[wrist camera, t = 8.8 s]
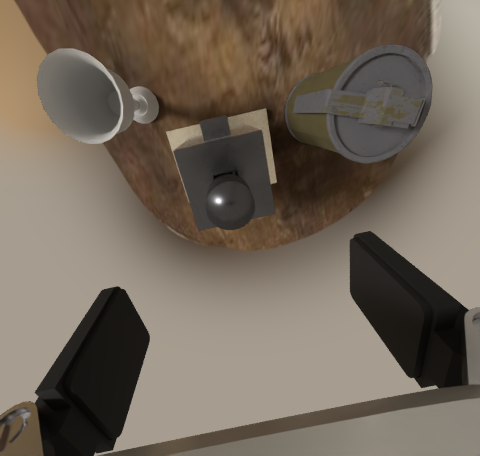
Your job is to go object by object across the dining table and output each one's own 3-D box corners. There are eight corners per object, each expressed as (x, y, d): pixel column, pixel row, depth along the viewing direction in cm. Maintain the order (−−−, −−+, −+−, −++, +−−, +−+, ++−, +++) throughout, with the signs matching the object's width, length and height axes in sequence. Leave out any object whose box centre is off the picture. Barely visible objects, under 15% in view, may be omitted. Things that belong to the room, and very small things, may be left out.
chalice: (171, 125, 39) (136, 135, 22) (130, 135, 39) (65, 151, 22) (154, 72, 35) (100, 38, 19) (110, 83, 36) (18, 58, 19)
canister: (356, 78, 38) (481, 47, 20) (336, 148, 42) (424, 174, 24) (289, 67, 36) (357, 22, 18) (276, 140, 41) (321, 161, 23)
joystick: (264, 105, 38) (295, 99, 23) (275, 180, 44) (306, 218, 28) (166, 128, 39) (130, 138, 23) (189, 200, 44) (173, 248, 28)
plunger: (238, 137, 38) (259, 163, 18) (246, 173, 40) (271, 231, 21) (202, 145, 38) (184, 181, 18) (212, 181, 40) (205, 245, 21)
